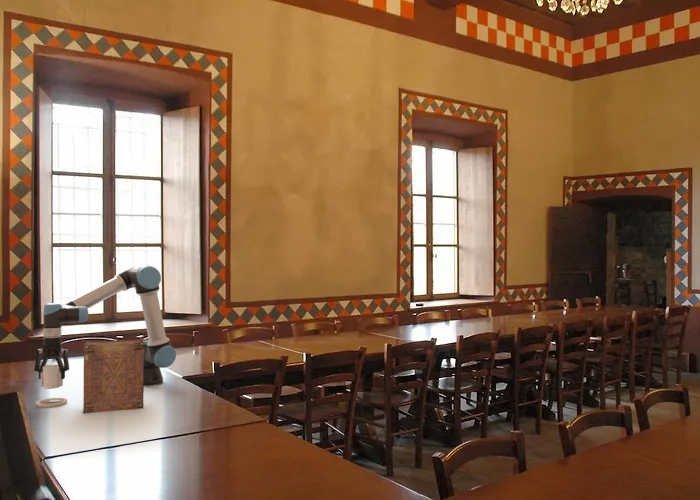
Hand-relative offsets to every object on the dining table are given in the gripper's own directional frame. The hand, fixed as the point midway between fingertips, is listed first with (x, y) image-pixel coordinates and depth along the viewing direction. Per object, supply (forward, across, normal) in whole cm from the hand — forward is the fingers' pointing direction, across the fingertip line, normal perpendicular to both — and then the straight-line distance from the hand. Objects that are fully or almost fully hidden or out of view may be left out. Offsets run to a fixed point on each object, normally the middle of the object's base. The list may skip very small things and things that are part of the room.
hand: (51, 386), depth 293 cm
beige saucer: (+8, 0, 0) cm, 8 cm away
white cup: (+1, 0, 0) cm, 1 cm away
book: (+9, +31, -9) cm, 33 cm away
